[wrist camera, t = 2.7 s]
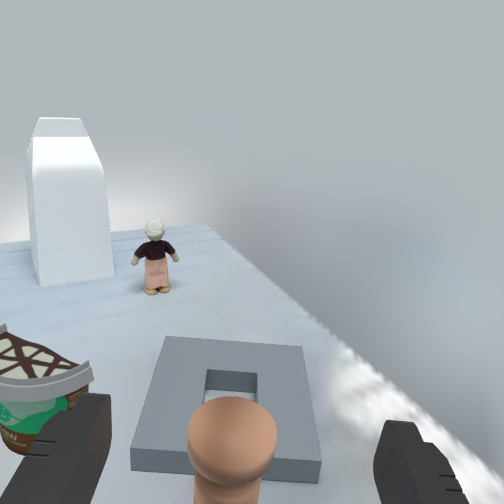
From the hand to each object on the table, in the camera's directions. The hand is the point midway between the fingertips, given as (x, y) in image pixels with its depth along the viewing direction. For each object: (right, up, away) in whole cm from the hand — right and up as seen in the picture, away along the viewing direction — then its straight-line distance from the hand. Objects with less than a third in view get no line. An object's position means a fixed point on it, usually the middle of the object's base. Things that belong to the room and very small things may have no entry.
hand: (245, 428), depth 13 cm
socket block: (-2, -13, +37) cm, 40 cm away
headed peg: (-3, -20, +21) cm, 29 cm away
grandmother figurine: (-16, -2, +61) cm, 63 cm away
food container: (-22, -14, +31) cm, 41 cm away
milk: (-32, +2, +66) cm, 73 cm away
